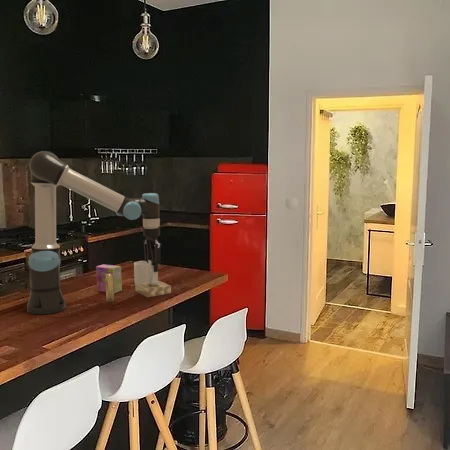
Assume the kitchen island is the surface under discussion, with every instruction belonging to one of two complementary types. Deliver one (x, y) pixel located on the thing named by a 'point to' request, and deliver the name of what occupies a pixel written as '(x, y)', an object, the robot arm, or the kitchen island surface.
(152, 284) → the square bit
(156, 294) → the socket block
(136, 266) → the mug
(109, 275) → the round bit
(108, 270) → the box
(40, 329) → the kitchen island surface
